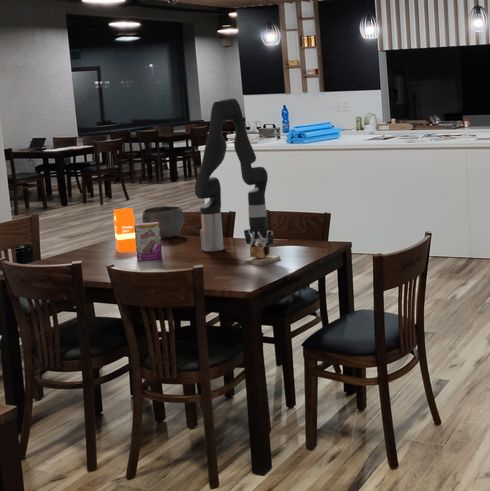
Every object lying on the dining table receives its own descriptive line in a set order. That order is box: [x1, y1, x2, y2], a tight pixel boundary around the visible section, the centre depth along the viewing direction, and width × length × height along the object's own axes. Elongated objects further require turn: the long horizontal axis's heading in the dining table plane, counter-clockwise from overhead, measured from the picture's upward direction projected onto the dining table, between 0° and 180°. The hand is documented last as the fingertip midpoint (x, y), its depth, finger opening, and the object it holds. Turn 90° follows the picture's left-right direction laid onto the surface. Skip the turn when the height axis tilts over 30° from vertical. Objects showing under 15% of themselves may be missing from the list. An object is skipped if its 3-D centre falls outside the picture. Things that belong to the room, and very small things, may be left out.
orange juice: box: [113, 207, 136, 253], centre depth 407 cm, size 8×9×20 cm
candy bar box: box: [134, 222, 163, 262], centre depth 381 cm, size 11×5×16 cm, turn 100°
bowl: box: [141, 205, 185, 240], centre depth 434 cm, size 21×21×15 cm
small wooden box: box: [249, 244, 271, 258], centre depth 362 cm, size 6×6×4 cm
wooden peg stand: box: [240, 242, 281, 266], centre depth 362 cm, size 12×12×8 cm
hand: (260, 254), depth 363 cm, fingers closed on small wooden box, 5 cm apart
